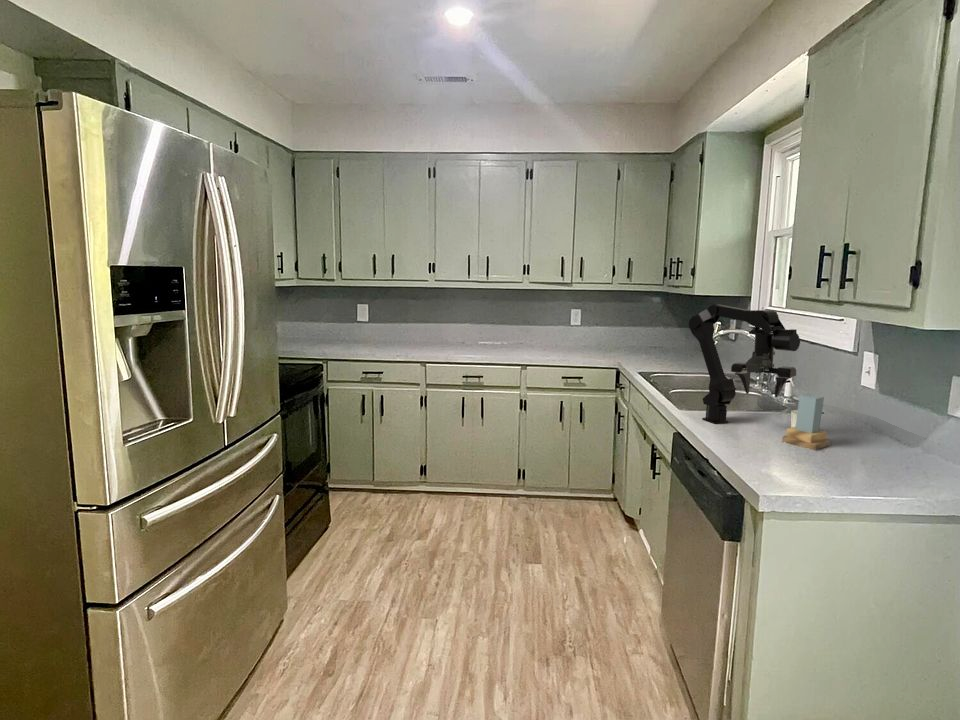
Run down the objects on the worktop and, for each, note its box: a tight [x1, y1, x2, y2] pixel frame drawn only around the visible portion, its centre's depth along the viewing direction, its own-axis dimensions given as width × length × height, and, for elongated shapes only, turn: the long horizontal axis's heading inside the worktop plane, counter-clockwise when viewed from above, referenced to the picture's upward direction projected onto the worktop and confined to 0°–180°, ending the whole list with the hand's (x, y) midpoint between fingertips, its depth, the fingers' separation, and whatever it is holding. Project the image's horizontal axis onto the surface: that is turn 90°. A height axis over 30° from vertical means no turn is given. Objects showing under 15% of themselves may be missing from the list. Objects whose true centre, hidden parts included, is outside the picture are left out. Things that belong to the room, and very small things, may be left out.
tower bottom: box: [781, 434, 831, 451], centre depth 181 cm, size 10×10×2 cm
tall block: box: [795, 393, 825, 433], centre depth 180 cm, size 5×5×11 cm
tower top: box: [785, 427, 827, 443], centre depth 181 cm, size 8×8×2 cm
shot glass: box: [790, 409, 798, 428], centre depth 193 cm, size 7×7×7 cm
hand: (761, 395), depth 189 cm, fingers open, 9 cm apart
